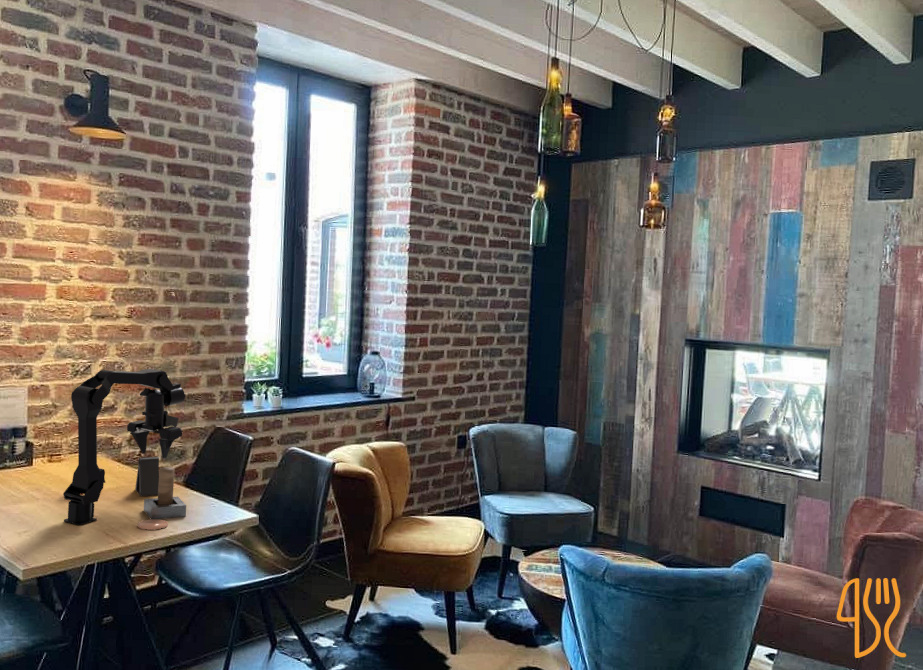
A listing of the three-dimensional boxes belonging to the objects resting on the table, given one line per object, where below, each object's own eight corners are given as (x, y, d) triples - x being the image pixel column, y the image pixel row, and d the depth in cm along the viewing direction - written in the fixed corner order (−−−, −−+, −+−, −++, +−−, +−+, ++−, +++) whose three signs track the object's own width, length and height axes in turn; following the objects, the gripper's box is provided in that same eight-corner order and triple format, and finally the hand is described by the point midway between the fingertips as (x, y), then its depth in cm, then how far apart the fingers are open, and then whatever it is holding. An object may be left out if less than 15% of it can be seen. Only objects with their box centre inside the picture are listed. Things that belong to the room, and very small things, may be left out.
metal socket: (151, 519, 238) (151, 508, 237) (143, 510, 246) (144, 499, 246) (185, 516, 243) (186, 505, 243) (177, 507, 252) (177, 496, 252)
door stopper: (135, 489, 268) (136, 455, 267) (153, 488, 271) (155, 454, 270) (140, 496, 260) (142, 461, 260) (159, 495, 264) (161, 460, 263)
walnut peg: (164, 516, 242) (167, 471, 241) (153, 513, 244) (156, 469, 243) (175, 512, 246) (177, 468, 245) (164, 510, 248) (166, 466, 247)
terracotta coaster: (152, 532, 227) (153, 529, 227) (130, 526, 230) (131, 524, 230) (174, 524, 235) (174, 522, 234) (152, 519, 238) (152, 517, 238)
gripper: (195, 408, 256) (194, 455, 258) (153, 400, 264) (152, 446, 266) (168, 413, 246) (168, 462, 248) (126, 405, 254) (125, 453, 256)
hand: (154, 455), depth 254 cm, fingers open, 9 cm apart
